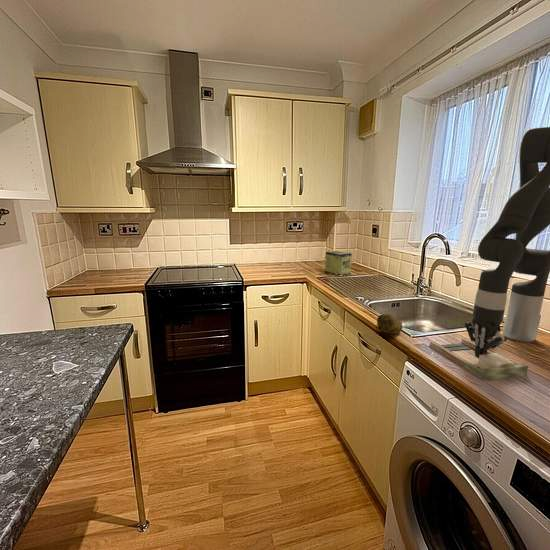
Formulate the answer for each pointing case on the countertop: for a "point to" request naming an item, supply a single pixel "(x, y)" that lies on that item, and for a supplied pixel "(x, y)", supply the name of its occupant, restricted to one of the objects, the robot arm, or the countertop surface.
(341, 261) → the protein box
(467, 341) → the shallow green tray
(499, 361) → the cream block
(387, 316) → the potato
